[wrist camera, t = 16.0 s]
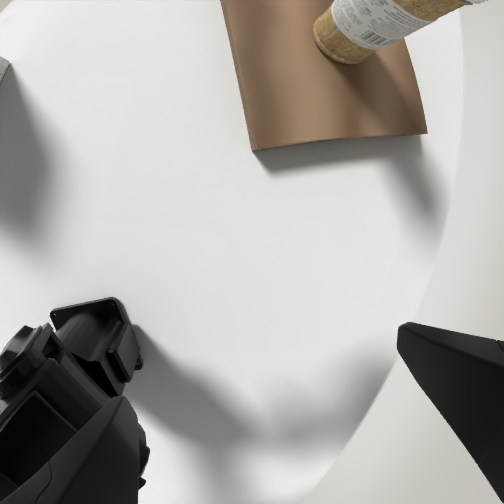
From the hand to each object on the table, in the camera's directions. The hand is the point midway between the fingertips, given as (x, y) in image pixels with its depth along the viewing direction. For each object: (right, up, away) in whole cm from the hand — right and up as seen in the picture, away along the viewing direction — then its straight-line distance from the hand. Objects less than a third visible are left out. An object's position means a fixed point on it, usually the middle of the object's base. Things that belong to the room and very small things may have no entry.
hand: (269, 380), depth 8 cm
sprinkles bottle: (+6, +19, +8) cm, 21 cm away
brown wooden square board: (+5, +19, +9) cm, 22 cm away
